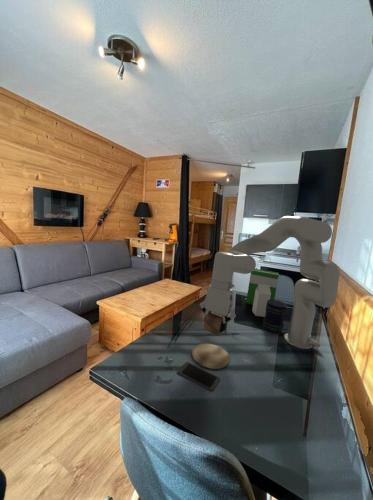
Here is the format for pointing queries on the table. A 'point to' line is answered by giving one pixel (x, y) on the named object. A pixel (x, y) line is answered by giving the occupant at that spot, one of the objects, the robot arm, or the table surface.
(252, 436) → the table surface
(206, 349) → the plate
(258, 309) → the milk carton
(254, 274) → the hardback book
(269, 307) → the storage jar
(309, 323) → the robot arm
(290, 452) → the table surface
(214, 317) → the walnut cube
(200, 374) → the cell phone
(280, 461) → the table surface
